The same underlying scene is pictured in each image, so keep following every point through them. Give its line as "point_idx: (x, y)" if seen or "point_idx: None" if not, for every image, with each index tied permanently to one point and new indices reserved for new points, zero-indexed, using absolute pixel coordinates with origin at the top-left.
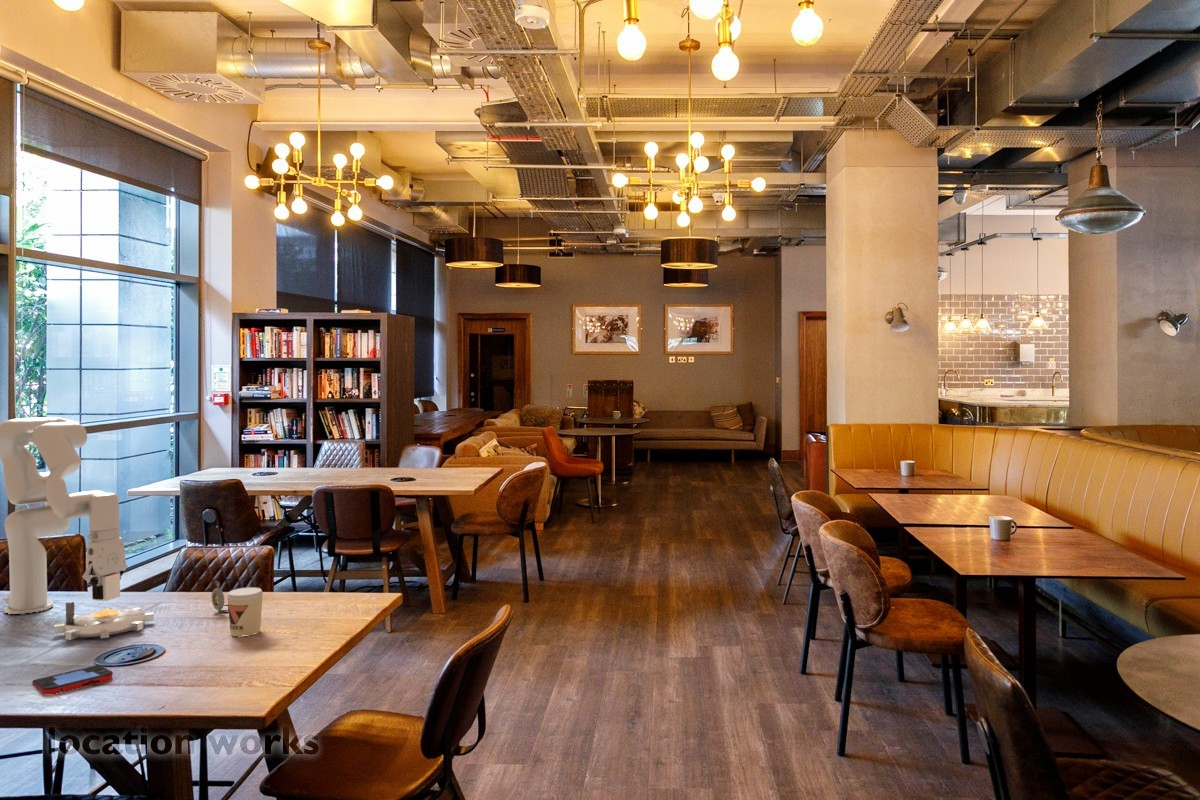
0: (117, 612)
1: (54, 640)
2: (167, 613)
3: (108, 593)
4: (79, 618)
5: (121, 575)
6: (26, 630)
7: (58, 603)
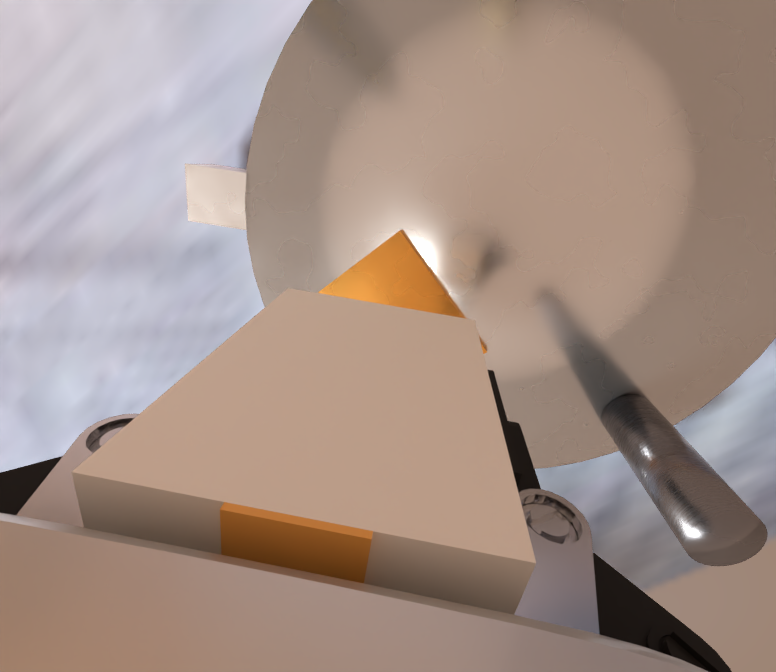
0: (334, 275)
1: None
2: (81, 32)
3: (440, 345)
4: None
5: (23, 468)
6: None
7: None
